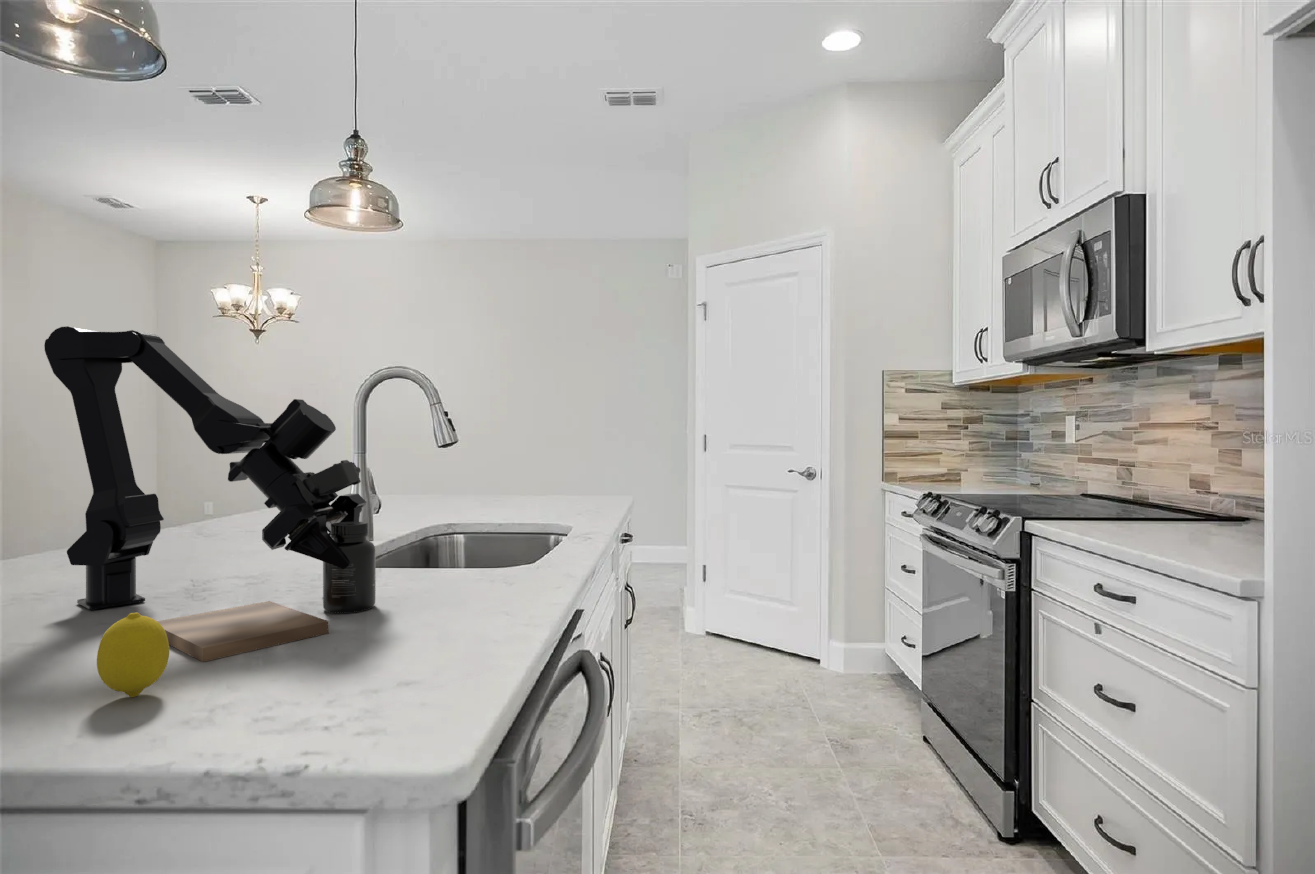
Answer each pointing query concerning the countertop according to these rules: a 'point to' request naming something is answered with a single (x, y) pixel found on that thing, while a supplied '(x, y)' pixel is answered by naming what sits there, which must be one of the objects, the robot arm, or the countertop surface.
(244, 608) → the walnut board
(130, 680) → the lemon
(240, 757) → the countertop surface
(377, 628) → the countertop surface
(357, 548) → the supplement bottle
